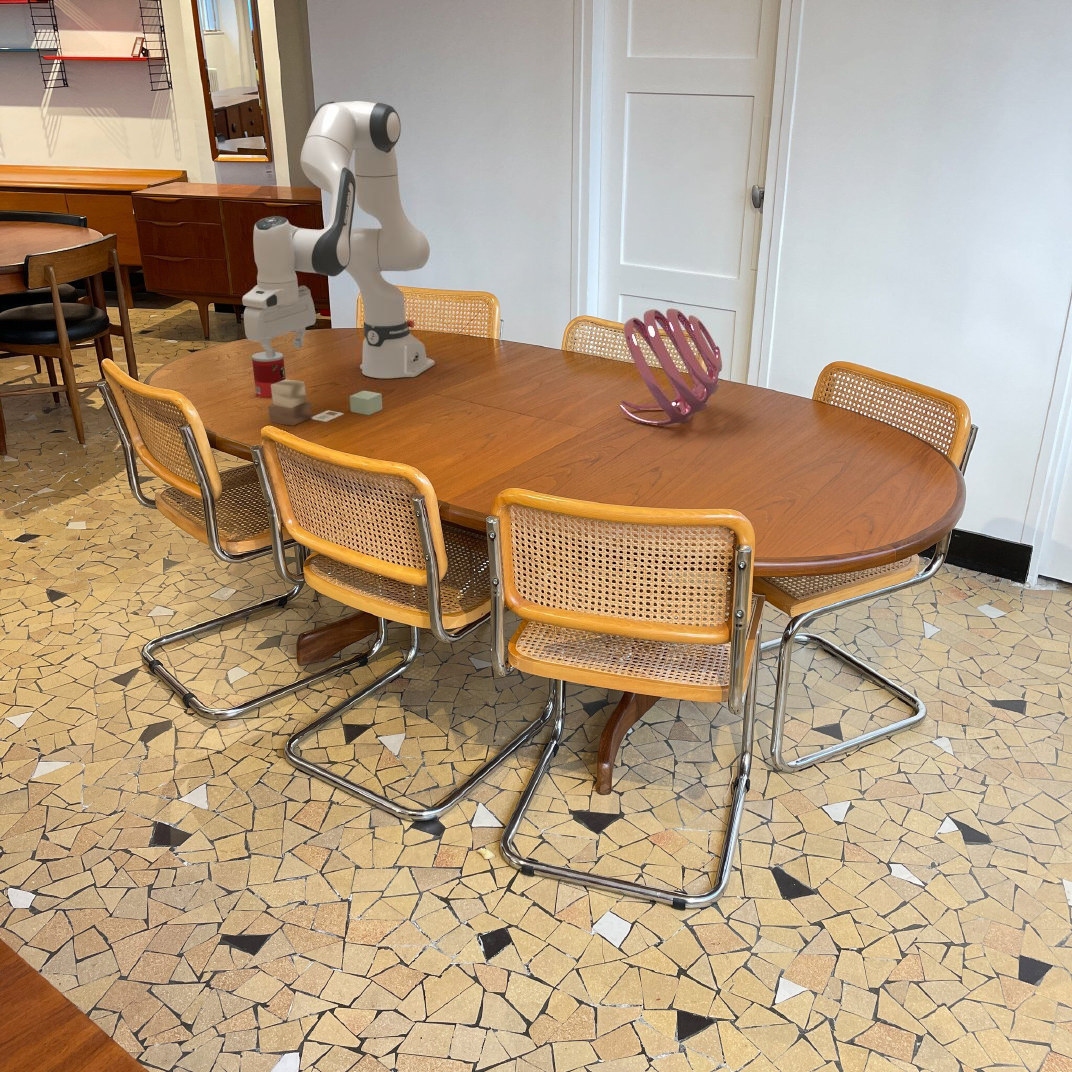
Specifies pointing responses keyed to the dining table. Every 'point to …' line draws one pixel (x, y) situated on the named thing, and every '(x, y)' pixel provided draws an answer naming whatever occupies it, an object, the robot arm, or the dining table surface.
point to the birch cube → (288, 393)
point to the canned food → (267, 372)
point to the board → (326, 416)
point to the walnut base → (290, 414)
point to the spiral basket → (683, 393)
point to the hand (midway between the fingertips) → (284, 351)
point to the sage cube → (366, 402)
